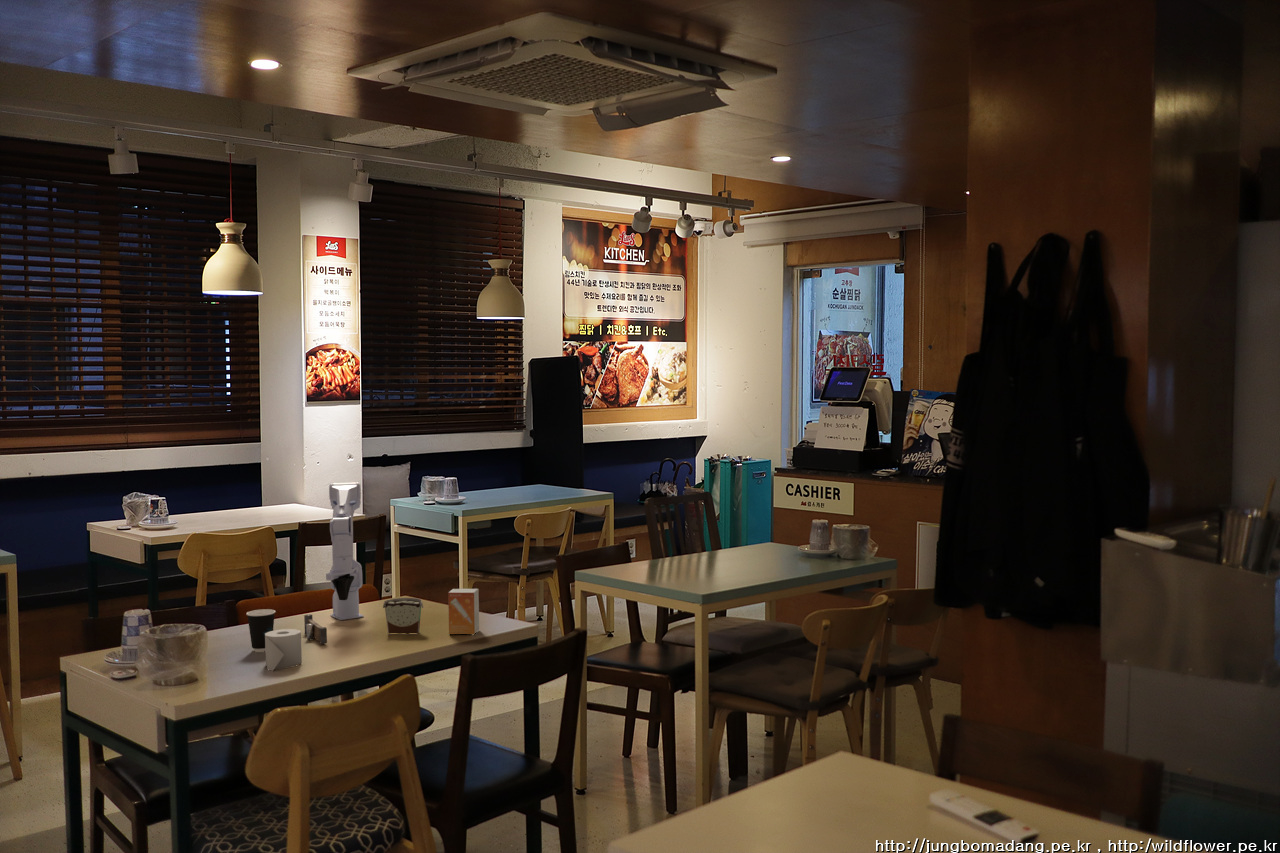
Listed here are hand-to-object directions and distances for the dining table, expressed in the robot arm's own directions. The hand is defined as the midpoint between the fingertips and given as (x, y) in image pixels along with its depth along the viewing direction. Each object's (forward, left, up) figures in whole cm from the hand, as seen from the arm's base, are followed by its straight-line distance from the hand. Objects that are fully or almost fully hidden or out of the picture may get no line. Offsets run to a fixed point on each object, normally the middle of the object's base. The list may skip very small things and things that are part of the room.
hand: (343, 599), depth 336 cm
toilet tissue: (+31, -29, -10) cm, 44 cm away
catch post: (+6, -13, -9) cm, 17 cm away
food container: (+15, +14, -10) cm, 23 cm away
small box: (+28, +27, -10) cm, 40 cm away
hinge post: (-3, -10, -9) cm, 14 cm away
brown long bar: (+7, -11, -9) cm, 16 cm away
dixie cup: (+10, -28, -10) cm, 31 cm away
